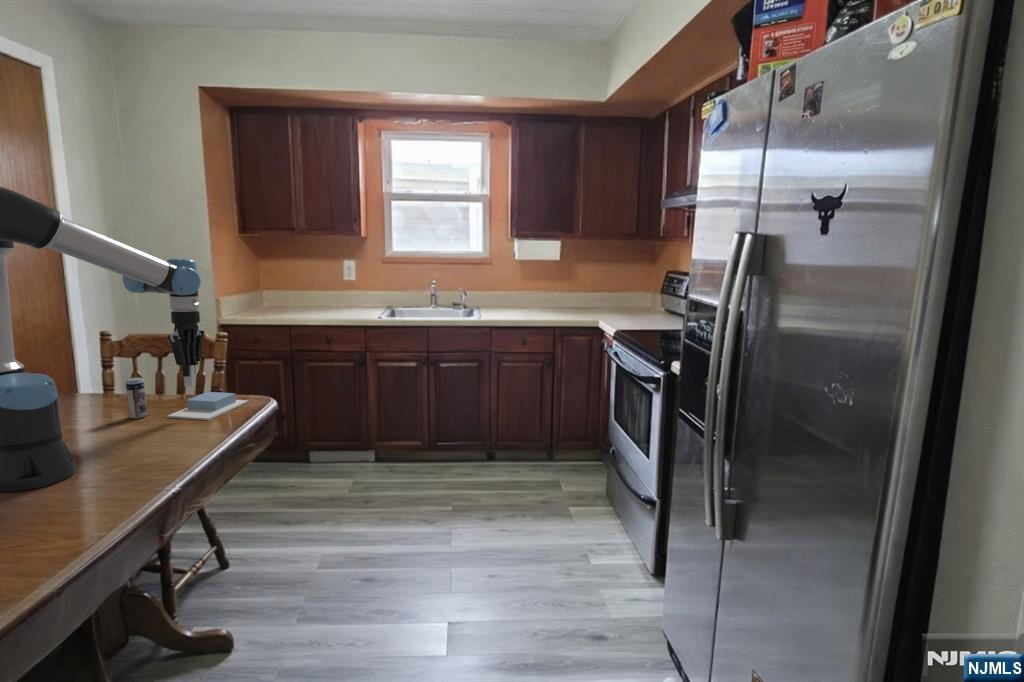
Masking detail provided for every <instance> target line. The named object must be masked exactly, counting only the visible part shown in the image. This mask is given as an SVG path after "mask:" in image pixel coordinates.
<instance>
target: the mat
mask: <svg viewBox="0 0 1024 682" xmlns="http://www.w3.org/2000/svg"><path fill="white" fill-rule="evenodd" d="M247 402H248V403H249V402H250V401H249V400H247V399H246V400H245V399H244V400H243V399H236V402H235V403H233V404H230V405H228V406H226V407H223V408H221V409H219V410H217V411H213V410H197V409H188V408H187V407H185V408H183V409H180V410H179V411H176V412H172V413H170V414H168V415H167V416H166V417H167V418H168V419H169V418H171V419H172V418H173V419H182V420H185V419H186V420H200V421H211V420H213V419H214V418H217V417H219V416H222V415H224V414H226V413H228V412H230V411H232V409H233V410H234V408H235V409H237V408H239V407H242V406H243V404H244V405H246V404H248V403H247ZM245 403H246V404H245ZM241 405H242V406H241ZM238 406H239V407H238ZM236 407H237V408H236Z"/></svg>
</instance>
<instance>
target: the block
mask: <svg viewBox="0 0 1024 682" xmlns="http://www.w3.org/2000/svg"><path fill="white" fill-rule="evenodd" d="M236 400H237V398H236V393H232V392H219V391H218V392H217V391H207V392H205V393H201V394H199V395H196V396H193V397H191V398H188V399H186V406H187V407H186V408H188V409H197V410H213V411H217V410H219V409H221V408H223V407H226V406H228V405H230V404H233V403H235V402H236Z"/></svg>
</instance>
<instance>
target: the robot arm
mask: <svg viewBox="0 0 1024 682" xmlns="http://www.w3.org/2000/svg"><path fill="white" fill-rule="evenodd" d="M14 243H17V244H21V245H25V246H29V247H30V248H35V249H37V250H45V249H46V248H48V249H51V250H53V251H56V252H59V253H62V254H64V255H67V256H70V257H73V258H76V259H78V260H80V261H82V262H83V261H84V262H85V263H89V264H92V265H93V266H97V267H100V268H102V269H104V270H108V271H111V272H113V273H116V274H119V275H121V276H122V282H123V286H124V287H125V289H126V290H127V291H129V292H130V293H133V294H134V293H139V294H144V293H156V294H169V308H170V310H172V311H171V312H170V319H171V321H170V322H171V323H172V324H173V325H174V329H173V333H172V334H169V335H167V339H168V340H169V342H170V345H171V346H170V347H171V349H172V353H173V356H174V357H173V358H174V362H175V364H176V365H177V366H178V367H179V366H180V367H181V368H182V376H183V385H184V387H188V388H189V387H190V388H193V387H196V383H197V382H196V366H197V365H199V363H200V362H201V357H202V346H203V340H204V339H203V338H204V335H205V331H204V330H201V329H199V325H198V323H200V322H201V315H200V314H201V313H200V310H199V309H200V303H199V289H200V286H201V277H200V275H199V273H198V269H197V267H198V266H197V262H196V261H195V260H194V259H191V258H169V259H167V261H166V260H164V259H162V258H159V257H157V256H154V255H153V254H149V253H147V252H145V251H142V250H140V249H139V248H136V247H133V246H131V245H129V244H126V243H124V242H122V241H119V240H116V239H115V238H112V237H110V236H107V235H105V234H103V233H100V232H97V231H95V230H93V229H90V228H89V227H86V226H84V225H81V224H80V223H76V222H74V221H72V220H69V219H67V218H64V217H63V216H62V213H61V211H59V210H57V209H55V208H53V207H50V206H48V205H46V204H44V203H41V202H39V201H37V200H35V199H33V198H30V197H28V196H26V195H24V194H21V193H19V192H16V191H15V190H12V189H8V188H6V187H3V186H0V493H12V492H21V491H28V490H33V489H39V488H42V487H47V486H49V485H53V484H56V483H59V482H61V481H64V480H65V479H66V480H67V478H70V477H71V476H73V475H74V474H75V473H76V472H77V466H76V460H75V458H74V457H73V455H72V454H71V451H70V450H69V448H68V446H67V445H66V443H65V441H64V438H63V432H62V424H61V417H60V410H59V409H60V408H59V398H58V397H59V396H58V389H57V387H56V383H55V382H56V381H54V379H53V378H52V377H51V376H49V375H47V374H43V373H35V372H34V373H31V372H26V370H25V365H24V364H23V363H21V362H20V361H18V360H17V359H16V355H15V344H14V335H13V333H14V330H13V324H12V323H13V322H12V311H11V301H10V289H9V278H8V267H7V266H8V265H7V256H8V255H9V254H11V253H12V252H13V251H15V244H14Z"/></svg>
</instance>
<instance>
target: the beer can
mask: <svg viewBox="0 0 1024 682" xmlns="http://www.w3.org/2000/svg"><path fill="white" fill-rule="evenodd" d="M125 389H126V399H127V408H128V418H130V419H132V420H133V419H135V420H136V419H142V418H145V417H147V415H148V408H147V400H146V399H147V398H146V390H145V389H146V388H145V380H144V379H143V378H142V377H130V378H127V379H126V381H125Z"/></svg>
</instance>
